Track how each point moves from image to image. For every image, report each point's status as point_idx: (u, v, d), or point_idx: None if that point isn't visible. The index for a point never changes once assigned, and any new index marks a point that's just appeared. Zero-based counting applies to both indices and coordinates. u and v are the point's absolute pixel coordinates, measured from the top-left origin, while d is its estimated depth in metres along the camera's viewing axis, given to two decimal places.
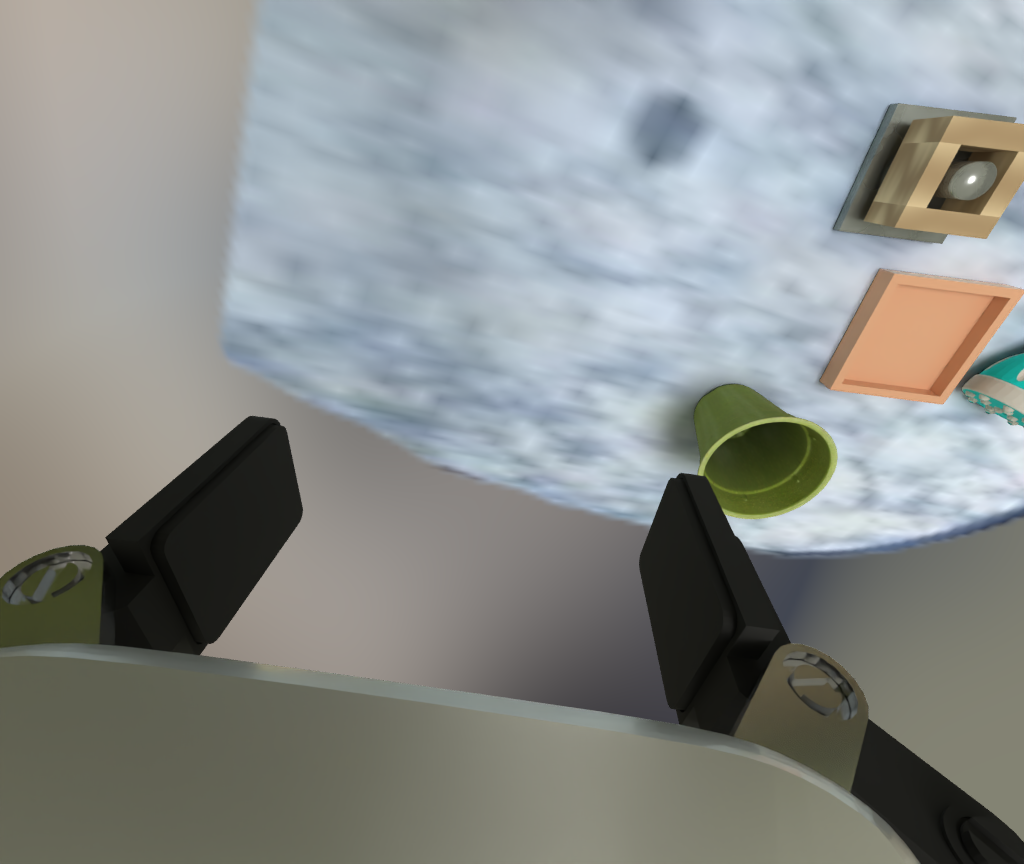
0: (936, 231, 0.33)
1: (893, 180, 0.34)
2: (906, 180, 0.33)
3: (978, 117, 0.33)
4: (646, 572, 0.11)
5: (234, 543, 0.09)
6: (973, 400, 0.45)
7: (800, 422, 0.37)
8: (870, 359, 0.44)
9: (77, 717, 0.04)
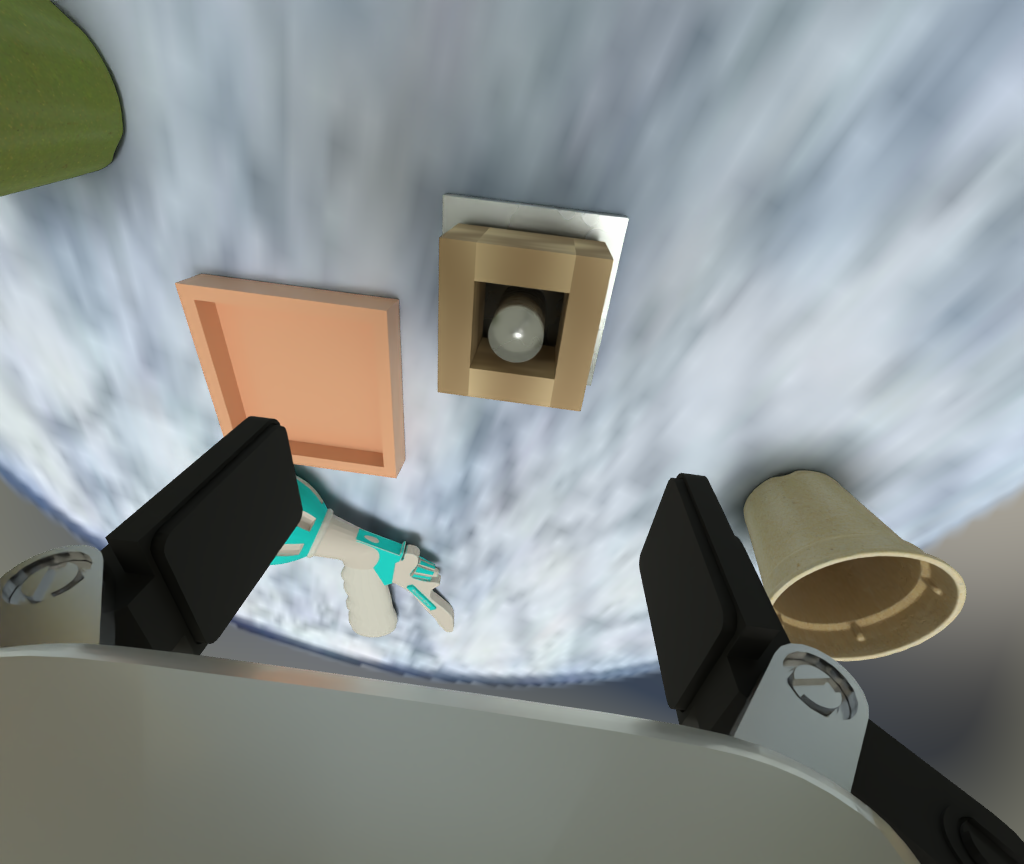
0: (440, 315, 0.19)
1: (519, 235, 0.20)
2: (518, 241, 0.18)
3: None
4: (646, 572, 0.11)
5: (234, 543, 0.09)
6: None
7: None
8: (261, 339, 0.27)
9: (77, 717, 0.04)
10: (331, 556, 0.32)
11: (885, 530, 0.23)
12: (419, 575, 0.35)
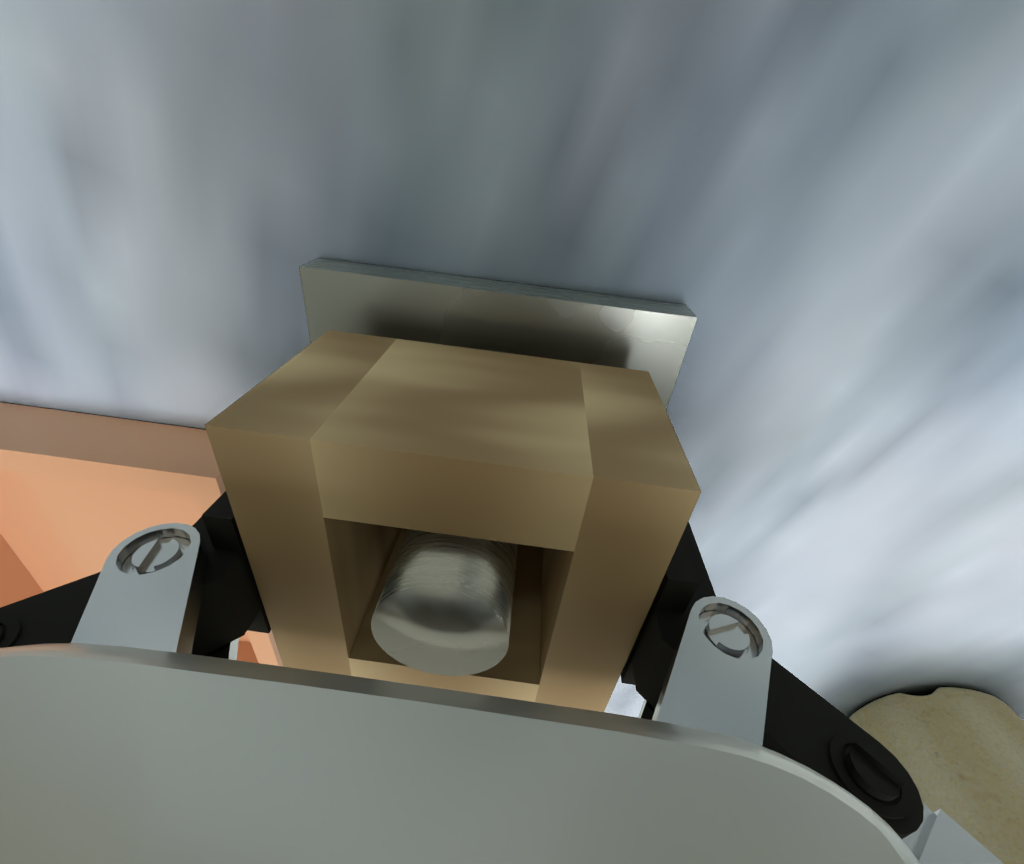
0: (257, 574, 0.08)
1: (456, 370, 0.08)
2: (442, 407, 0.07)
3: None
4: None
5: None
6: None
7: None
8: (31, 494, 0.15)
9: (77, 717, 0.04)
10: None
11: None
12: None
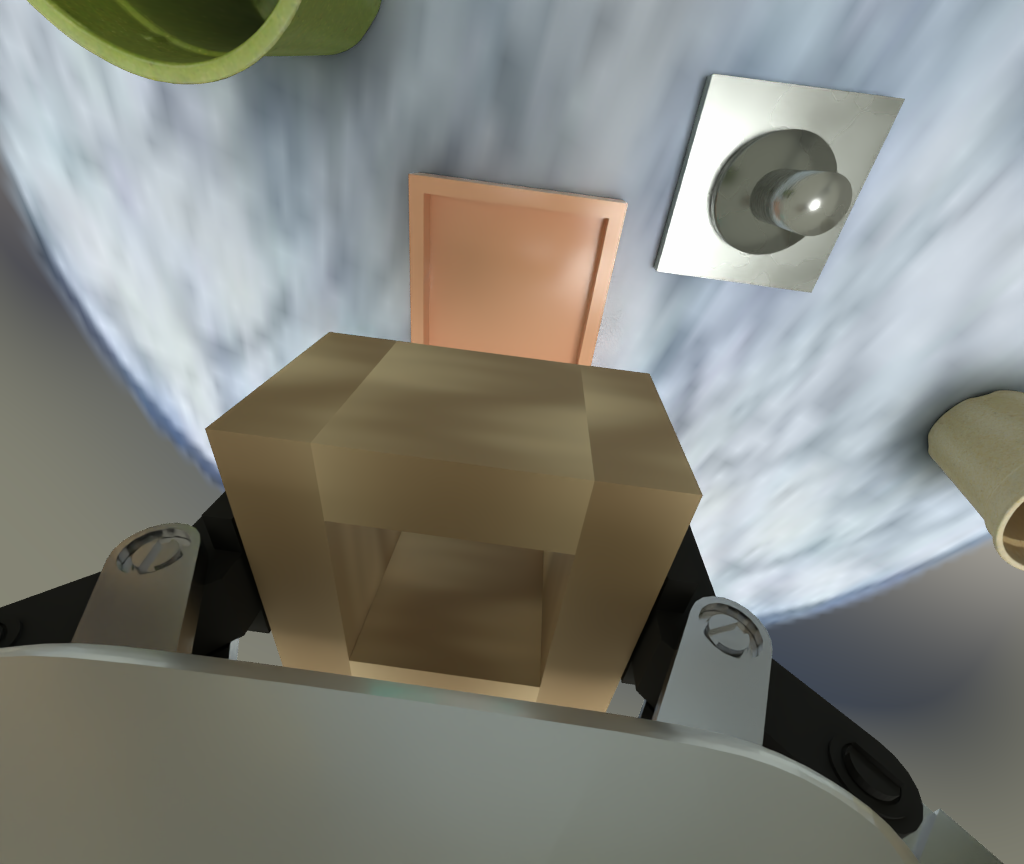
0: (258, 577, 0.08)
1: (457, 372, 0.08)
2: (443, 410, 0.07)
3: (830, 241, 0.24)
4: None
5: None
6: None
7: None
8: (469, 244, 0.26)
9: (77, 717, 0.04)
10: None
11: None
12: None
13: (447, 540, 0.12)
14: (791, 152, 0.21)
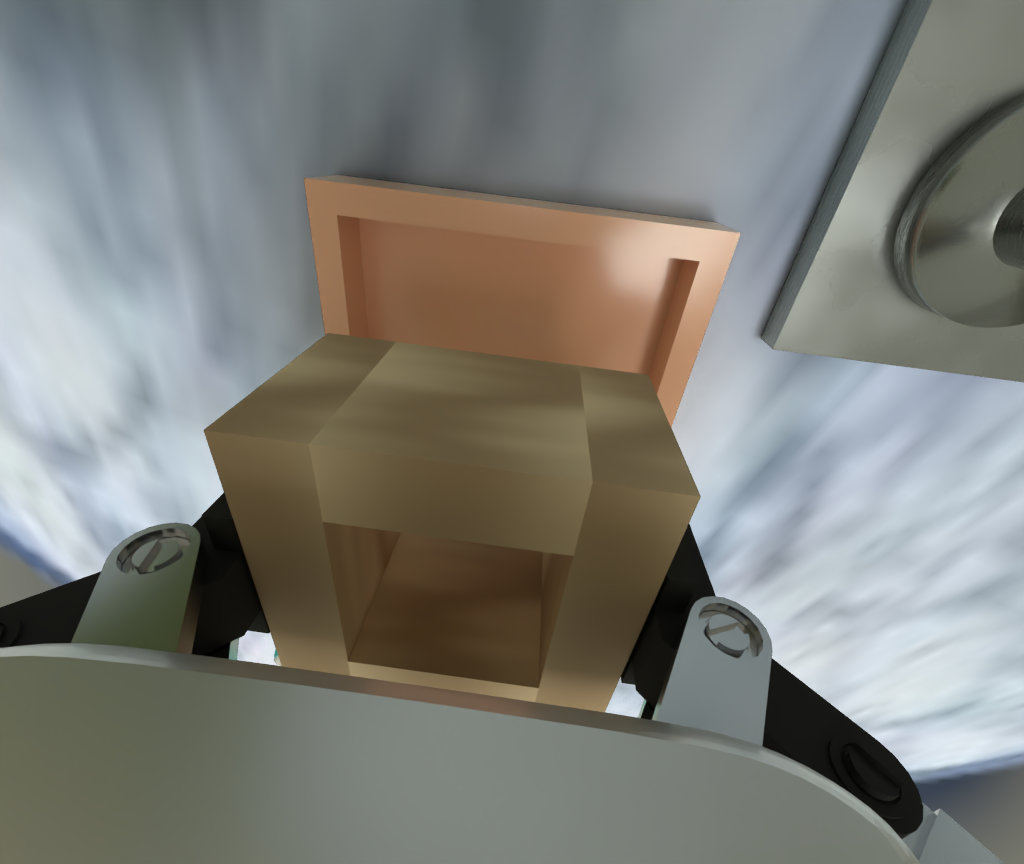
0: (256, 578, 0.08)
1: (455, 373, 0.08)
2: (442, 411, 0.07)
3: None
4: None
5: None
6: None
7: None
8: (435, 302, 0.15)
9: (77, 717, 0.04)
10: None
11: None
12: None
13: (446, 541, 0.12)
14: None
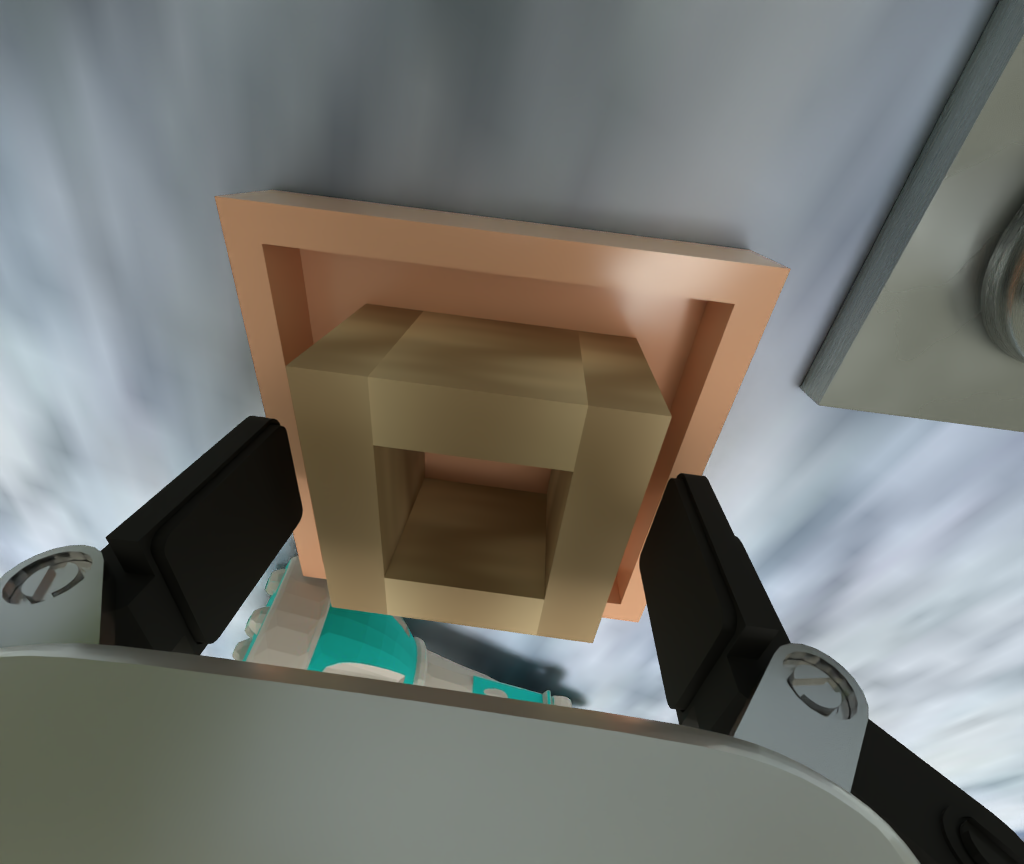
0: (314, 498, 0.10)
1: (476, 333, 0.10)
2: (467, 359, 0.09)
3: None
4: (646, 572, 0.11)
5: (234, 543, 0.09)
6: None
7: None
8: None
9: (77, 717, 0.04)
10: None
11: None
12: None
13: (462, 491, 0.14)
14: None
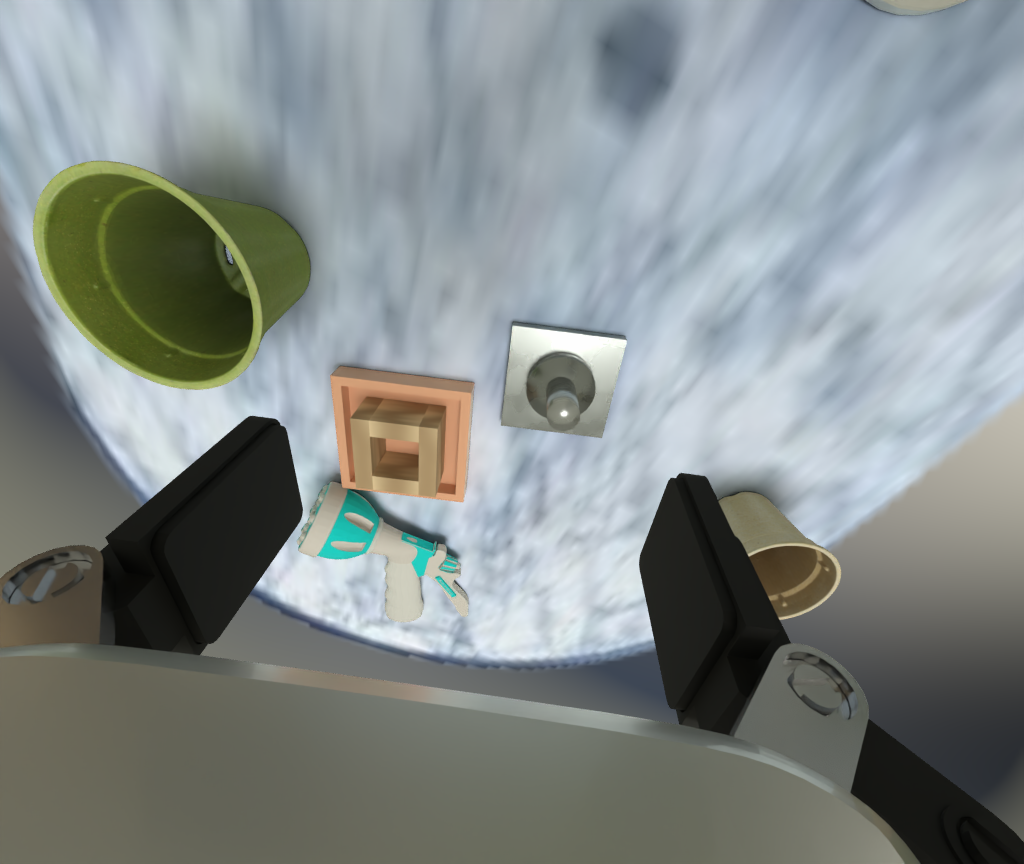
0: (353, 451, 0.36)
1: (397, 406, 0.37)
2: (393, 415, 0.36)
3: (605, 410, 0.37)
4: (646, 572, 0.11)
5: (234, 543, 0.09)
6: (320, 495, 0.43)
7: (255, 315, 0.24)
8: None
9: (77, 717, 0.04)
10: (383, 553, 0.43)
11: (793, 530, 0.36)
12: (446, 567, 0.46)
13: (398, 454, 0.41)
14: (564, 369, 0.34)
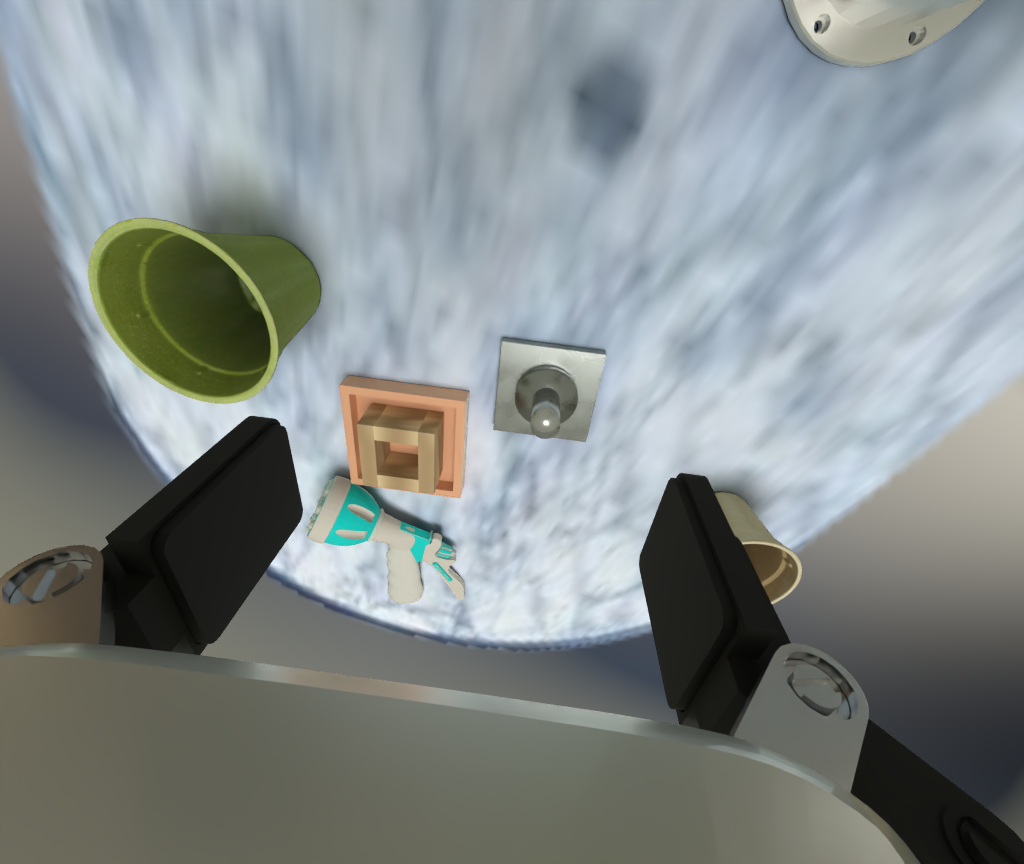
0: (360, 452, 0.40)
1: (399, 412, 0.41)
2: (395, 420, 0.40)
3: (588, 417, 0.41)
4: (646, 572, 0.11)
5: (234, 543, 0.09)
6: (327, 487, 0.48)
7: (272, 343, 0.28)
8: None
9: (77, 717, 0.04)
10: (383, 540, 0.48)
11: (759, 529, 0.40)
12: (442, 554, 0.50)
13: (401, 454, 0.45)
14: (548, 381, 0.38)
